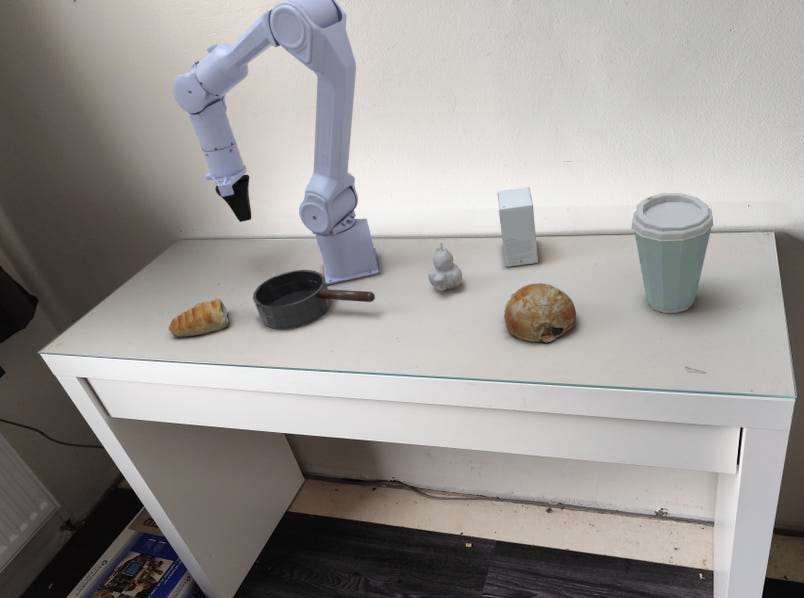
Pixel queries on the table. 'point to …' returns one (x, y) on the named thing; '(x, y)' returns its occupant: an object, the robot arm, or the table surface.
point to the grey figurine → (444, 270)
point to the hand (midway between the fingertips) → (245, 219)
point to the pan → (291, 299)
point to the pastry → (200, 319)
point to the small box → (517, 226)
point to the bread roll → (539, 313)
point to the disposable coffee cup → (671, 248)
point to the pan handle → (346, 295)
